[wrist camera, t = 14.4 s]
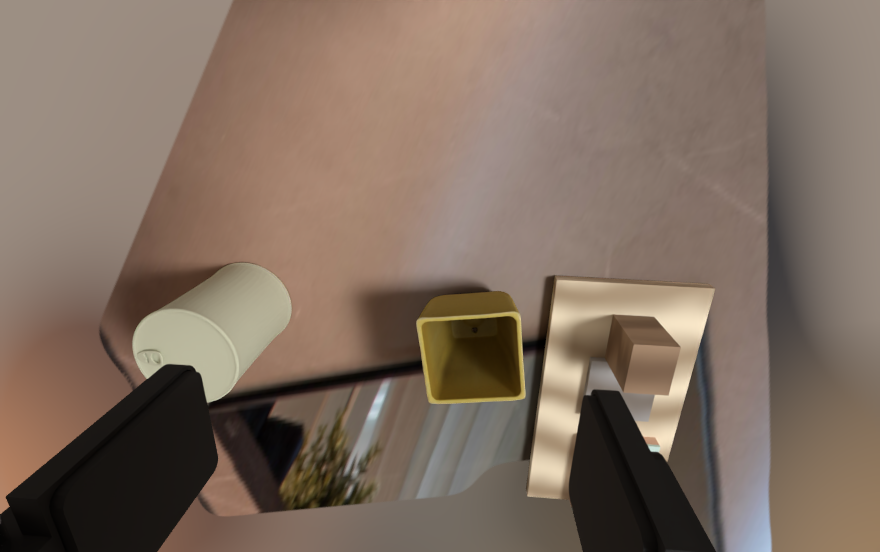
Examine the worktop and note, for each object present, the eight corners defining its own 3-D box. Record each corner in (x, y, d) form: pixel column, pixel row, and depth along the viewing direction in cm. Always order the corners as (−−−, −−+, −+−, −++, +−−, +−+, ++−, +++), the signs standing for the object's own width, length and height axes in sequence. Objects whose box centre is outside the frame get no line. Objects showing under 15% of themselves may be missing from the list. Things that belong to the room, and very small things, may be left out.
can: (200, 261, 46) (113, 310, 35) (285, 262, 45) (224, 311, 34) (217, 339, 49) (142, 406, 38) (297, 340, 49) (244, 409, 37)
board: (554, 275, 44) (556, 279, 43) (708, 283, 43) (715, 288, 42) (526, 488, 54) (527, 496, 53) (650, 498, 53) (654, 506, 52)
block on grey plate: (597, 313, 44) (616, 343, 38) (669, 317, 43) (698, 348, 38) (580, 412, 48) (594, 452, 42) (645, 416, 48) (668, 457, 42)
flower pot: (435, 354, 48) (427, 405, 40) (425, 280, 45) (414, 319, 37) (516, 349, 47) (526, 400, 39) (511, 273, 44) (520, 311, 36)
